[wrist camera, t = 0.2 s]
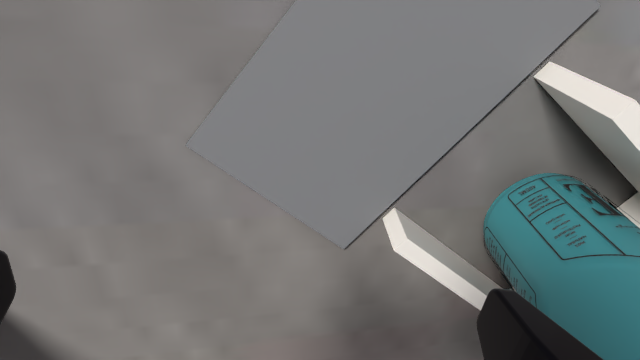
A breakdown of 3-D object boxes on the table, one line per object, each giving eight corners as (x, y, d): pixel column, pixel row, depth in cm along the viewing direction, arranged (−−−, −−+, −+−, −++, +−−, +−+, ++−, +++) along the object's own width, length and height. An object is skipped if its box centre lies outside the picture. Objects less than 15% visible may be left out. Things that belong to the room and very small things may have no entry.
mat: (343, 246, 26) (343, 249, 26) (186, 143, 22) (185, 145, 22) (596, 4, 20) (601, 5, 20) (446, -196, 16) (448, -199, 16)
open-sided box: (503, 306, 30) (550, 384, 24) (382, 218, 25) (407, 290, 20) (661, 189, 26) (757, 252, 20) (549, 61, 21) (635, 100, 16)
